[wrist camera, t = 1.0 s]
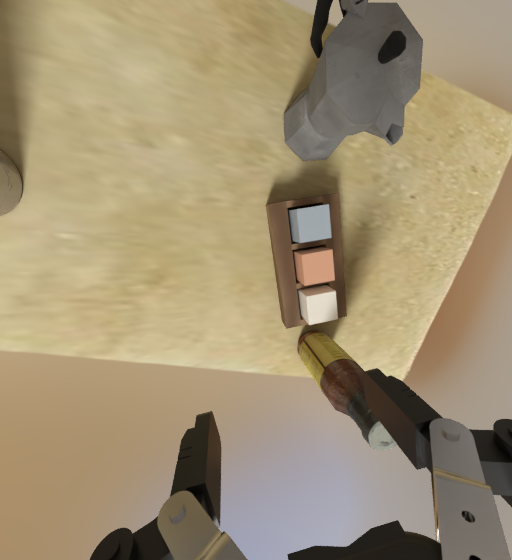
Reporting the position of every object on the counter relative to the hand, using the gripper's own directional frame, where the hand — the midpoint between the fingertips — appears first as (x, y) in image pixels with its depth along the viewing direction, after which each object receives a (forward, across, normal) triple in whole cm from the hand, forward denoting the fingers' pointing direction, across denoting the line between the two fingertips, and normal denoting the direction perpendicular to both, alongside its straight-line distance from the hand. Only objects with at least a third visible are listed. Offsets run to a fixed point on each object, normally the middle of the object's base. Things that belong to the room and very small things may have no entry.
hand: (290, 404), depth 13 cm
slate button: (+26, -10, -7) cm, 29 cm away
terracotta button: (+26, -10, -1) cm, 28 cm away
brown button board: (+28, -10, -1) cm, 30 cm away
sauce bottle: (+28, -9, +14) cm, 33 cm away
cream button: (+26, -10, +5) cm, 28 cm away
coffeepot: (+28, -14, -21) cm, 38 cm away
